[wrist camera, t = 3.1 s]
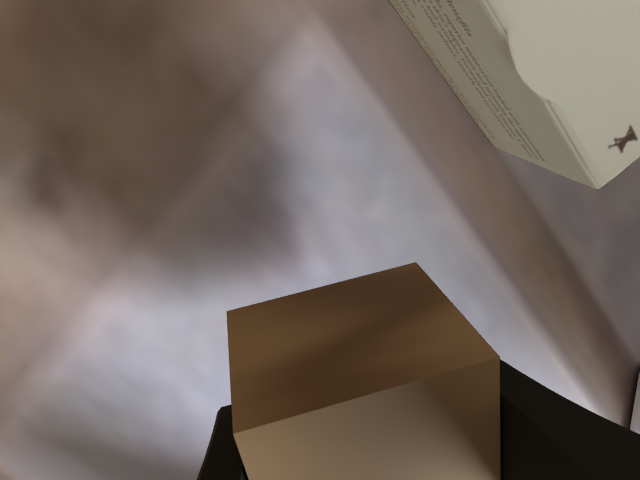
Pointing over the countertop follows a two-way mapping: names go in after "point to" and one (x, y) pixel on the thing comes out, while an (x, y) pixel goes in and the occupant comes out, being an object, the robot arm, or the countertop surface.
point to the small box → (542, 76)
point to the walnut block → (364, 384)
